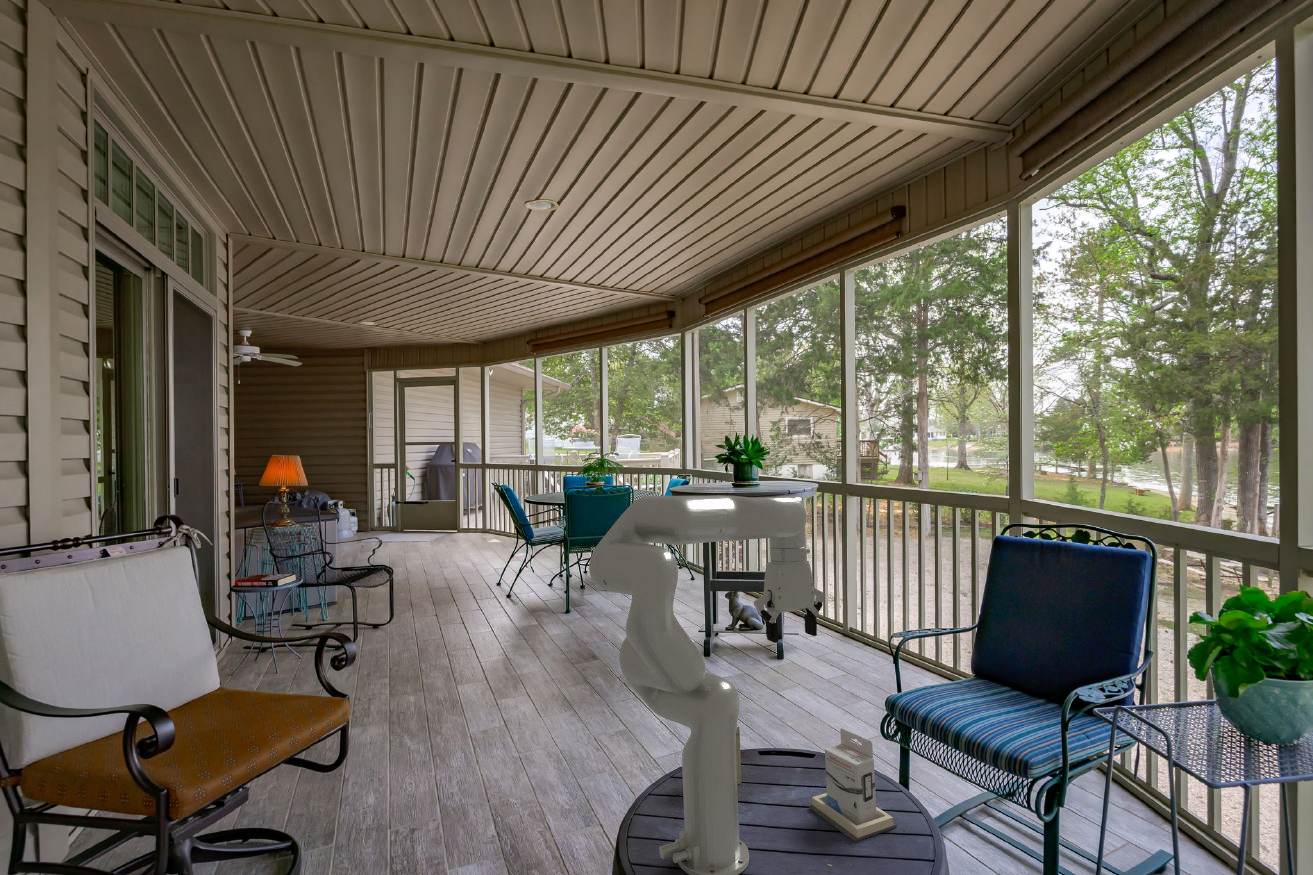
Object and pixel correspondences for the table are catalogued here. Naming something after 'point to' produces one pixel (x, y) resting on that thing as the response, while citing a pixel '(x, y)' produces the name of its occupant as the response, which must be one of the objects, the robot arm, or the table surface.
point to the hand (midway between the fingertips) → (792, 637)
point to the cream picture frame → (846, 826)
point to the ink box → (851, 778)
